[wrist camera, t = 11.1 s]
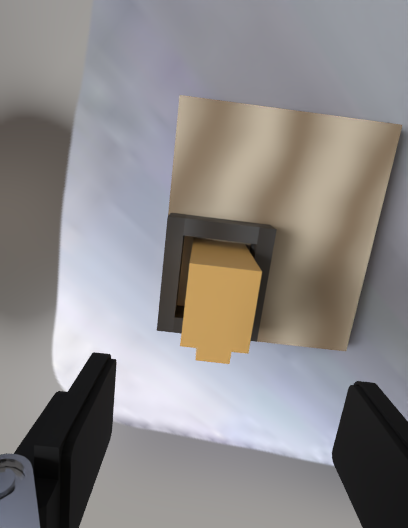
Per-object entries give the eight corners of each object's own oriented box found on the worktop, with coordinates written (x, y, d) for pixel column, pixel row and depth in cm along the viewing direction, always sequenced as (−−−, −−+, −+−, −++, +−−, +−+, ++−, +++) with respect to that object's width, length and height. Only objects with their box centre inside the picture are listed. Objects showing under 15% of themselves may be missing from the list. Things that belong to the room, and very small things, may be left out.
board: (391, 127, 26) (424, 118, 22) (339, 342, 30) (359, 367, 26) (181, 99, 25) (177, 85, 21) (159, 322, 30) (152, 344, 26)
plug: (244, 244, 26) (262, 271, 19) (234, 313, 28) (246, 365, 20) (193, 238, 26) (189, 263, 18) (185, 307, 28) (178, 358, 20)
